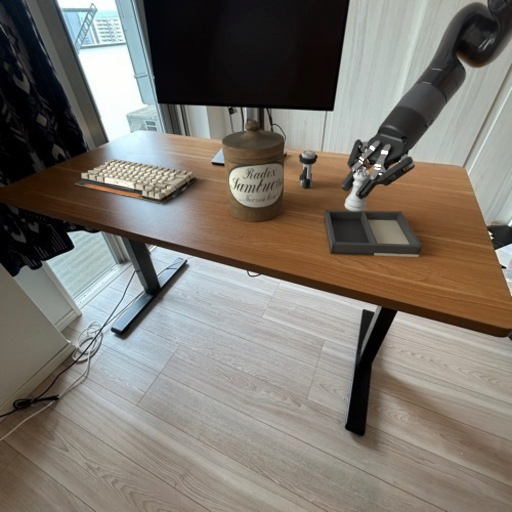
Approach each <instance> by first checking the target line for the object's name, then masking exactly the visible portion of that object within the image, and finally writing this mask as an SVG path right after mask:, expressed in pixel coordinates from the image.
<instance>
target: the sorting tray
mask: <svg viewBox="0 0 512 512" xmlns="http://www.w3.org/2000/svg"><path fill="white" fill-rule="evenodd" d="M323 220H324V227H325V231H326V236H327V243H328V247H329V253H330V255H349V256H351V255H352V256H379V257H380V256H381V257H404V258H405V257H409V258H419V257H420V254H421V252H422V250H423V248H424V246H423V244H422V243H421V241H420V240H419V238H418V236H417V235H416V233H415V232H414V230H413V228H412V227H411V225H410V223H409V222H408V220H407V219H406V216H405V215H404V214H403V212H402V210H400V211H396V210H392V211H391V210H363V211H360V212H353V211H349V210H347V209H346V210H345V209H325V211H324V217H323Z"/></svg>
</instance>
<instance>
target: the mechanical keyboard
mask: <svg viewBox="0 0 512 512" xmlns="http://www.w3.org/2000/svg"><path fill="white" fill-rule="evenodd" d="M81 179H82V180H80V181H76V182H75V184H73V185H74V186H78V187H83V188H87V189H91V190H92V189H93V190H97V191H101V192H106V193H111V194H114V195H115V194H116V195H120V196H126V197H130V198H136V199H139V200H145V201H147V202H153V203H157V204H160V205H163V204H165V202H168V200H170V199H171V198H172V199H174V198H176V197H177V196H179V195H181V193H184V191H186V189H187V187H188V186H190V185H191V184H193V183H194V182H196V181H197V176H195V174H194V171H187V170H181V169H176V168H169V167H164V166H158V165H153V164H147V163H141V162H136V161H129V160H128V161H127V160H123V159H117V158H111V159H110V160H107V161H105V162H104V164H103V163H102V164H101V165H99V166H96V167H94V168H93V169H89V170H87V172H81Z"/></svg>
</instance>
